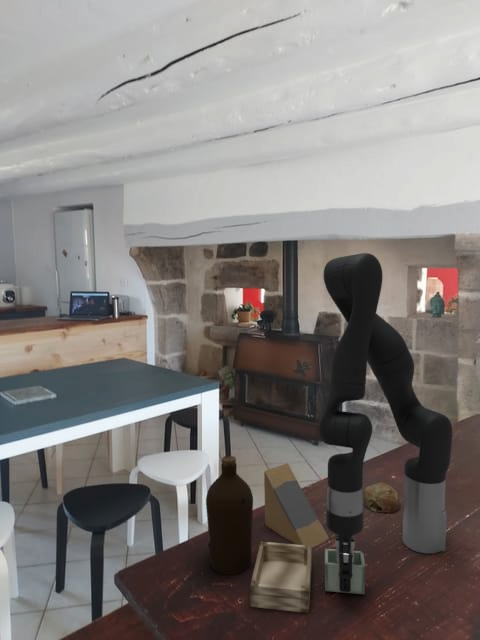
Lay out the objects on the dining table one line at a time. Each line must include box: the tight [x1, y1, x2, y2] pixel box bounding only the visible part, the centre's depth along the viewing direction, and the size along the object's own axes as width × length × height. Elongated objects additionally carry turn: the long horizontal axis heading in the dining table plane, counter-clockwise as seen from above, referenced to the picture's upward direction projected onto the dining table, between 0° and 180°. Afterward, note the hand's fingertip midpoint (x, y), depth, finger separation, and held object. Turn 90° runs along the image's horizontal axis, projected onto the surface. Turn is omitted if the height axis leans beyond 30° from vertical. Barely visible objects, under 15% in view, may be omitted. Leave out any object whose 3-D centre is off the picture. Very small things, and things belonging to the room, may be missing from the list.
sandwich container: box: [263, 462, 330, 549], centre depth 126 cm, size 9×15×15 cm, turn 38°
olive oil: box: [205, 455, 254, 576], centre depth 113 cm, size 11×11×25 cm
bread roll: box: [363, 481, 400, 514], centre depth 140 cm, size 10×10×8 cm
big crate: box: [249, 541, 313, 614], centre depth 106 cm, size 12×16×5 cm
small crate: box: [324, 548, 366, 595], centre depth 105 cm, size 8×6×6 cm
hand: (344, 580), depth 106 cm, fingers closed on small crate, 5 cm apart
